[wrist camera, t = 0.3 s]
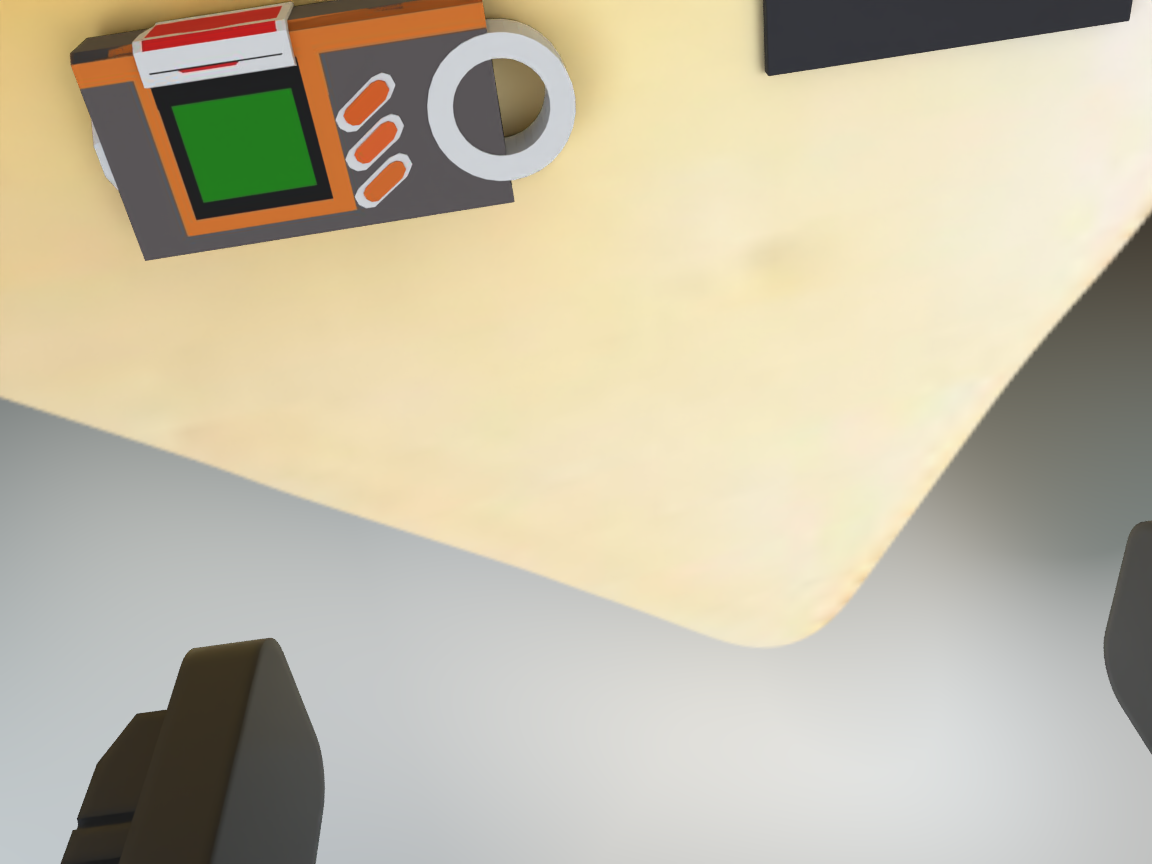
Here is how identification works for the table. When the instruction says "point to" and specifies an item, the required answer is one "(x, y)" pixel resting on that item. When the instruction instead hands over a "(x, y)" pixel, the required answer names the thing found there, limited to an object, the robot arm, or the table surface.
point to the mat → (912, 26)
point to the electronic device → (312, 118)
